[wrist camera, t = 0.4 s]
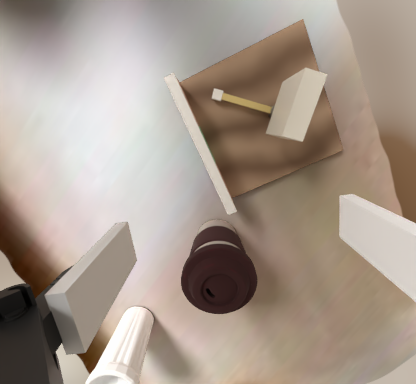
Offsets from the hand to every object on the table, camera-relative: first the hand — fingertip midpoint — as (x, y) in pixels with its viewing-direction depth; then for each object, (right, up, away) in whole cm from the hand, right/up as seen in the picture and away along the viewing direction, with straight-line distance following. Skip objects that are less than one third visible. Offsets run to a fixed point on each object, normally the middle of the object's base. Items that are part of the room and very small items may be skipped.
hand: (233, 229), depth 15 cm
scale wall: (-2, +10, +23) cm, 25 cm away
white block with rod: (+4, +16, +22) cm, 27 cm away
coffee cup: (0, -6, +29) cm, 30 cm away
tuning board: (+6, +14, +23) cm, 28 cm away
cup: (-16, -23, +34) cm, 44 cm away
